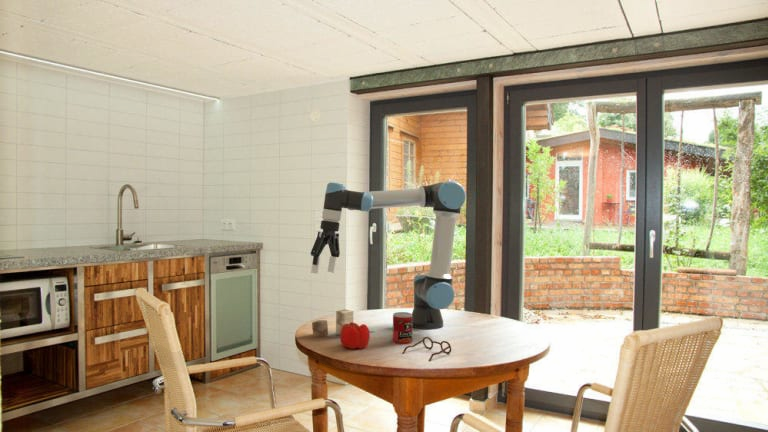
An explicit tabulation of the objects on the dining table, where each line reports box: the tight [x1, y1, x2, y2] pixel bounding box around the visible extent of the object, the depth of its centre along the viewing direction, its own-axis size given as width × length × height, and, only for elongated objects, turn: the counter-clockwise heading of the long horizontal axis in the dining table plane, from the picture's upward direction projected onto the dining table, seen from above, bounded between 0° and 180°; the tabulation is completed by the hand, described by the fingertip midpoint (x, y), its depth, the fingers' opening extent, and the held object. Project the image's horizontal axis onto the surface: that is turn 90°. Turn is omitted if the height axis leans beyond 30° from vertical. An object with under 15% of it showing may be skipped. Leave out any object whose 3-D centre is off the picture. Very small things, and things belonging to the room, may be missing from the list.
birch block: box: [335, 308, 354, 336], centre depth 212 cm, size 5×5×10 cm
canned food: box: [392, 311, 413, 345], centre depth 205 cm, size 8×8×11 cm
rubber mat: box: [326, 330, 375, 340], centre depth 215 cm, size 11×19×1 cm, turn 141°
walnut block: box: [311, 319, 329, 338], centre depth 211 cm, size 4×4×6 cm
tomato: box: [339, 322, 371, 350], centre depth 195 cm, size 11×12×9 cm
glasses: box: [402, 336, 452, 362], centre depth 188 cm, size 13×13×5 cm
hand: (322, 272), depth 209 cm, fingers open, 13 cm apart
